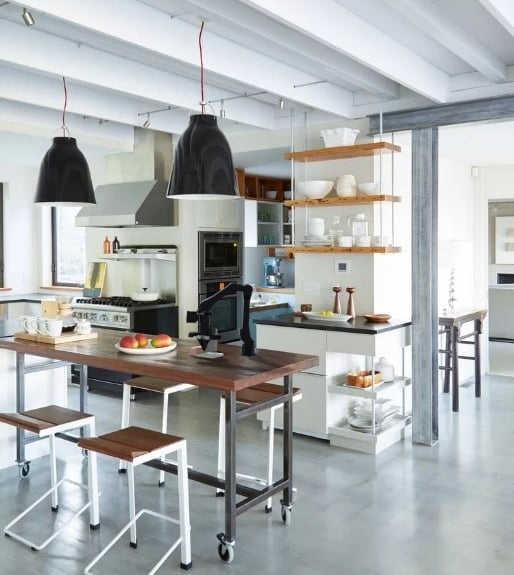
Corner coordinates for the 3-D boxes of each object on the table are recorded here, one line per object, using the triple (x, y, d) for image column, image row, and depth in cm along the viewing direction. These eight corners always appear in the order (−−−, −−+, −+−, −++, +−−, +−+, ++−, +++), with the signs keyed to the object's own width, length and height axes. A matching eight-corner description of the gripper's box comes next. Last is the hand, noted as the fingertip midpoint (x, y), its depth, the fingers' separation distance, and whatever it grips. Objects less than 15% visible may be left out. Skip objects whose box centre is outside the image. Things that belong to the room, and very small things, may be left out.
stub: (206, 353, 360) (206, 346, 360) (196, 356, 352) (196, 348, 351) (200, 352, 362) (200, 345, 362) (189, 355, 354) (189, 347, 354)
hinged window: (223, 355, 354) (223, 353, 354) (212, 358, 346) (212, 355, 346) (207, 353, 360) (207, 351, 360) (196, 356, 351) (196, 353, 351)
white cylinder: (209, 352, 365) (209, 331, 364) (197, 350, 371) (197, 329, 370) (220, 350, 373) (220, 329, 372) (208, 348, 378) (208, 327, 377)
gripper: (226, 323, 356) (226, 350, 357) (199, 320, 365) (199, 347, 366) (215, 325, 346) (214, 353, 347) (187, 322, 356) (187, 350, 357)
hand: (204, 351), depth 355 cm, fingers closed
